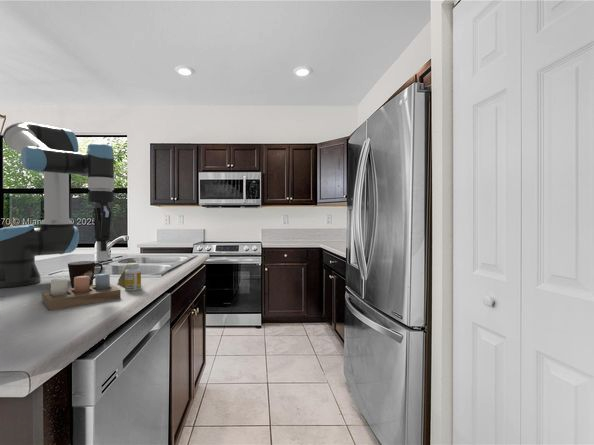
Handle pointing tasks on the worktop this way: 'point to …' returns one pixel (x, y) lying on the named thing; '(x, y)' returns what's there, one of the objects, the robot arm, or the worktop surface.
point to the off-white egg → (59, 287)
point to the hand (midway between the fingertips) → (102, 260)
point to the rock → (122, 277)
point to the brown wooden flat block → (80, 297)
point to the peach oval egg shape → (81, 284)
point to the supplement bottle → (132, 277)
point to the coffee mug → (82, 270)
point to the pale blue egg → (102, 281)
